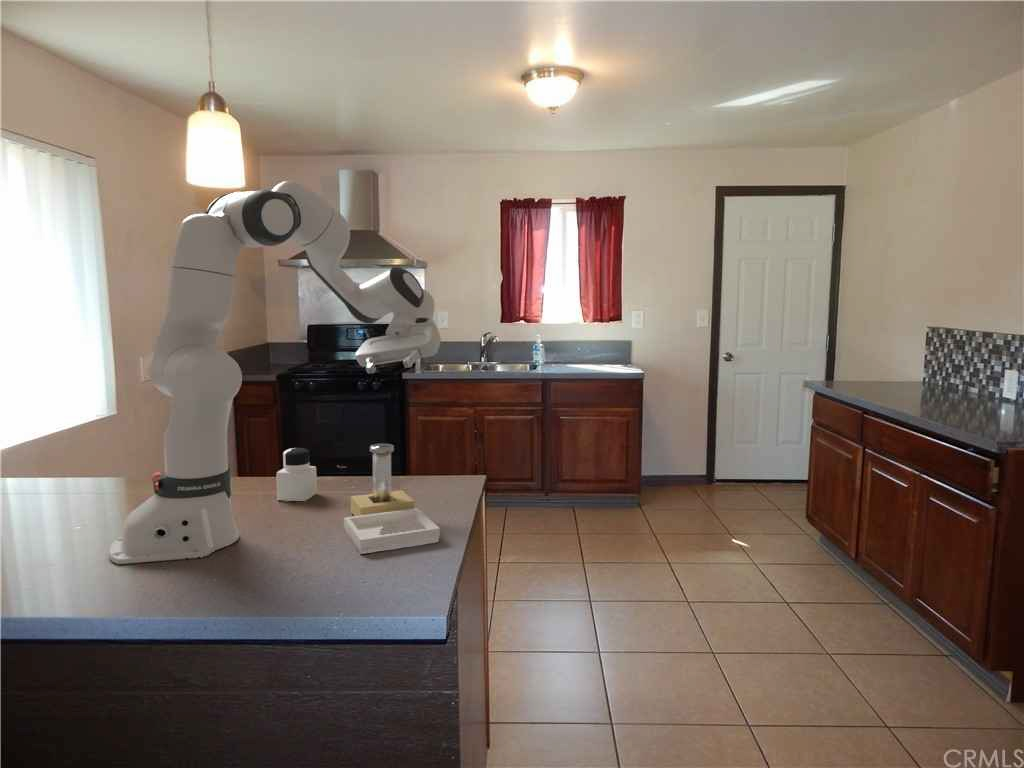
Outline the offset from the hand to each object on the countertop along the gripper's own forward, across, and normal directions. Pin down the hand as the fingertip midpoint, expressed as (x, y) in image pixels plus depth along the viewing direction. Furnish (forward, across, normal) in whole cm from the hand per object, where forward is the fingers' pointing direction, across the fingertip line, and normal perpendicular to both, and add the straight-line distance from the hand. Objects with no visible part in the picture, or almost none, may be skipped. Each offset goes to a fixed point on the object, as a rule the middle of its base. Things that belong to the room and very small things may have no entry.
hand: (387, 368), depth 148 cm
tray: (+32, +3, +20) cm, 38 cm away
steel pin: (+22, -5, +25) cm, 33 cm away
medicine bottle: (+15, -30, +24) cm, 41 cm away
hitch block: (+22, -5, +25) cm, 33 cm away
